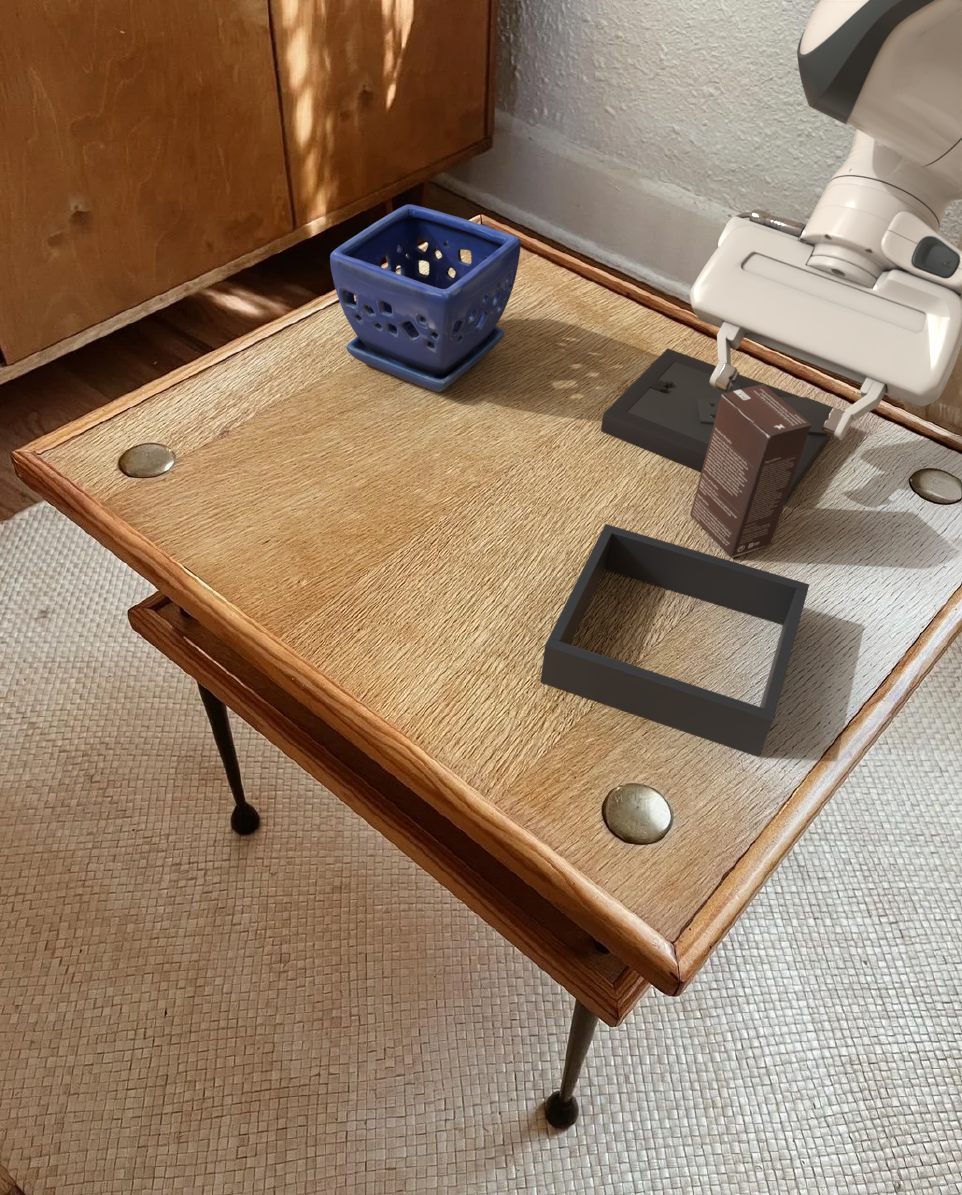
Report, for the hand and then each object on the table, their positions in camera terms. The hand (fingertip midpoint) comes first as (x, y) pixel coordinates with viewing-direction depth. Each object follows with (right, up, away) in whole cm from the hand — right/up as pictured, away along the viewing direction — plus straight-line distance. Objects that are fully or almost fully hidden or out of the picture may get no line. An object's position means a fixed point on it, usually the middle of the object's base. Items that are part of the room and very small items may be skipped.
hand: (773, 411), depth 78 cm
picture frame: (0, +1, +16) cm, 16 cm away
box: (-2, -9, +6) cm, 11 cm away
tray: (-8, -18, -3) cm, 20 cm away
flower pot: (-28, +9, +22) cm, 37 cm away
